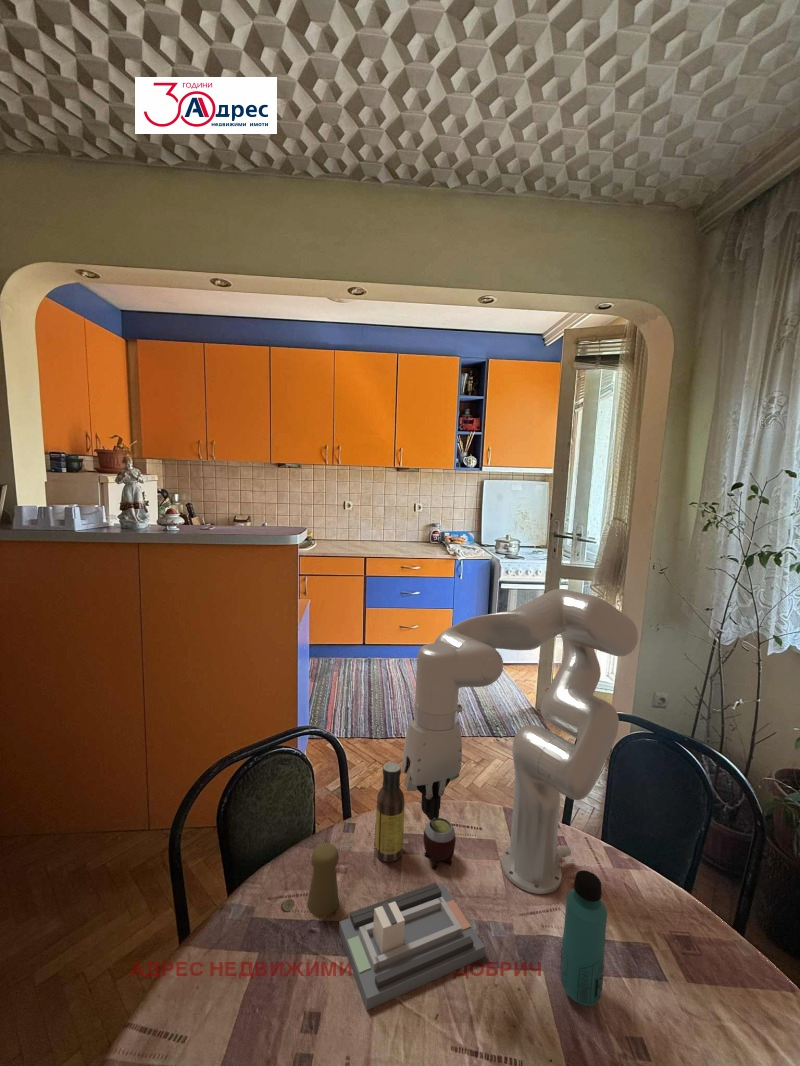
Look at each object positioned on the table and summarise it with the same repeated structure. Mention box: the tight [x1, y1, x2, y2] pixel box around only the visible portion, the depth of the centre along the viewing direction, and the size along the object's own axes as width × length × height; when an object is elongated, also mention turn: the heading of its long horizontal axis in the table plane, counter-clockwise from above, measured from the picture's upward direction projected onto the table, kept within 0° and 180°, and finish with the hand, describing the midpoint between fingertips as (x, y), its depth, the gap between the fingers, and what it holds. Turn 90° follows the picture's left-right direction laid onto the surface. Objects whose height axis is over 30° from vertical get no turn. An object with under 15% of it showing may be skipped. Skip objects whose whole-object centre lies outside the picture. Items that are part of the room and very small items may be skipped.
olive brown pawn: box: [306, 842, 340, 918], centre depth 89 cm, size 6×6×11 cm
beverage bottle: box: [559, 869, 608, 1007], centre depth 74 cm, size 6×7×20 cm
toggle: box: [373, 901, 405, 955], centre depth 80 cm, size 4×4×5 cm
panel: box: [338, 882, 486, 1011], centre depth 82 cm, size 22×14×3 cm, turn 115°
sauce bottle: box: [375, 761, 405, 863], centre depth 102 cm, size 6×6×20 cm
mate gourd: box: [418, 800, 457, 871], centre depth 101 cm, size 8×8×15 cm
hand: (430, 814), depth 82 cm, fingers closed
